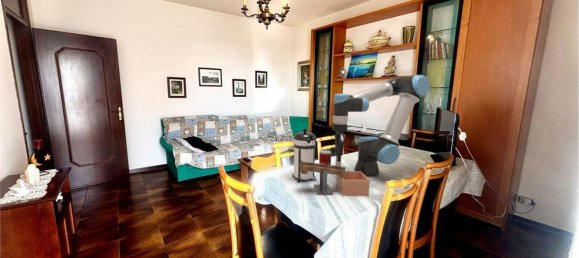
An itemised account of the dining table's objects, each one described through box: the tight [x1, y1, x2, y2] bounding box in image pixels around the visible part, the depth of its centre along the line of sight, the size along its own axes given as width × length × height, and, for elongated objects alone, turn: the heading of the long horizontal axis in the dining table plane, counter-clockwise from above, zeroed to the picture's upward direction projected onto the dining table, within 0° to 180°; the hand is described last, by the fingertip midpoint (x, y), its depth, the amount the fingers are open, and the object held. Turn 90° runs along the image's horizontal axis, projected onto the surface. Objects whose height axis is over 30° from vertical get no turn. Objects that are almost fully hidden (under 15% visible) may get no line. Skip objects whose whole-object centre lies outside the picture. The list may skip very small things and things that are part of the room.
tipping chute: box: [300, 159, 350, 176], centre depth 125 cm, size 24×13×6 cm, turn 92°
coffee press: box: [291, 127, 317, 183], centre depth 139 cm, size 17×16×30 cm
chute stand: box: [313, 170, 334, 196], centre depth 123 cm, size 8×11×13 cm
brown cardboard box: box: [335, 170, 371, 197], centre depth 124 cm, size 13×13×8 cm
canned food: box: [318, 149, 332, 165], centre depth 161 cm, size 8×8×11 cm
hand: (338, 166), depth 129 cm, fingers closed
